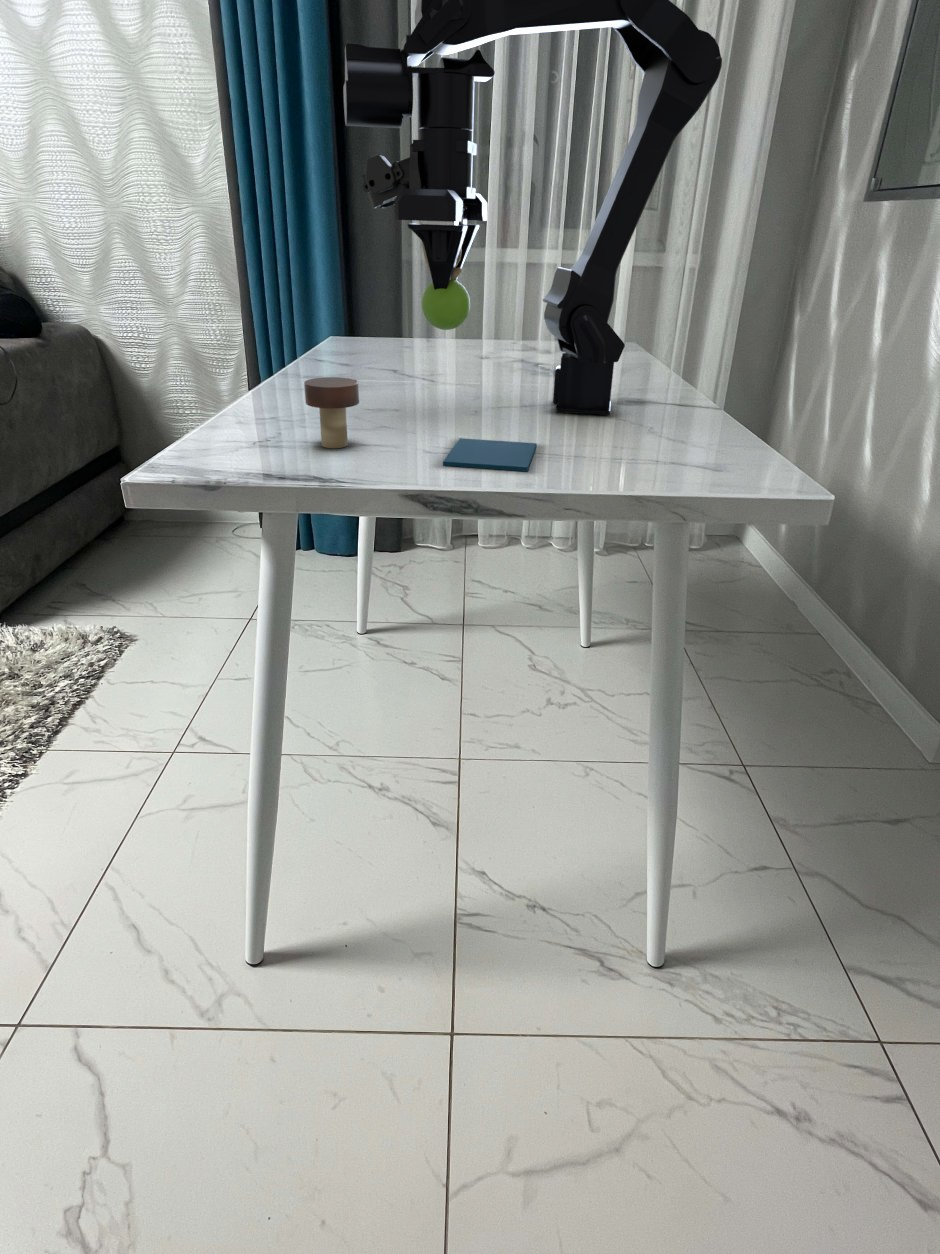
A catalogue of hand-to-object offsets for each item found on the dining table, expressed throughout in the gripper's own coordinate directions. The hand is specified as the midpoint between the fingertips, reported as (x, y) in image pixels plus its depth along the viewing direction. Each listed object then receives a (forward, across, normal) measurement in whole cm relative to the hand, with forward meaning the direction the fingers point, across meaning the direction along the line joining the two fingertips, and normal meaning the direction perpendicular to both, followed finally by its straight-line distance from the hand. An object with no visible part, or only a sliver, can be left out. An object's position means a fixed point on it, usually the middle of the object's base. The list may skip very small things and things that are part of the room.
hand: (443, 293), depth 91 cm
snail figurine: (+4, 0, 0) cm, 4 cm away
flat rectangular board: (+13, +18, +9) cm, 24 cm away
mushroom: (+13, +18, -7) cm, 24 cm away
